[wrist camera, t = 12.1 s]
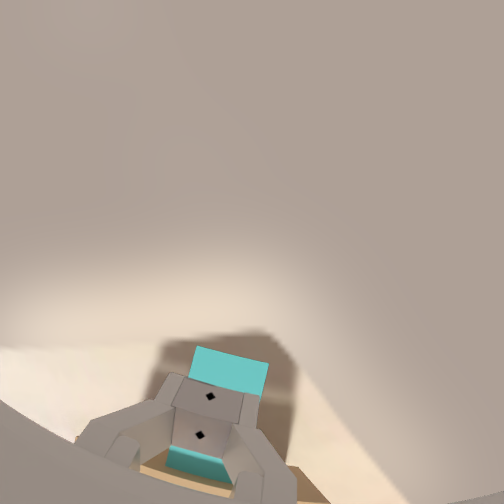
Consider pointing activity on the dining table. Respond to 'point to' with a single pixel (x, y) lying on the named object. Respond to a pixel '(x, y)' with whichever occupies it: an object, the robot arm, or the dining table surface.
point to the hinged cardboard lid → (210, 468)
